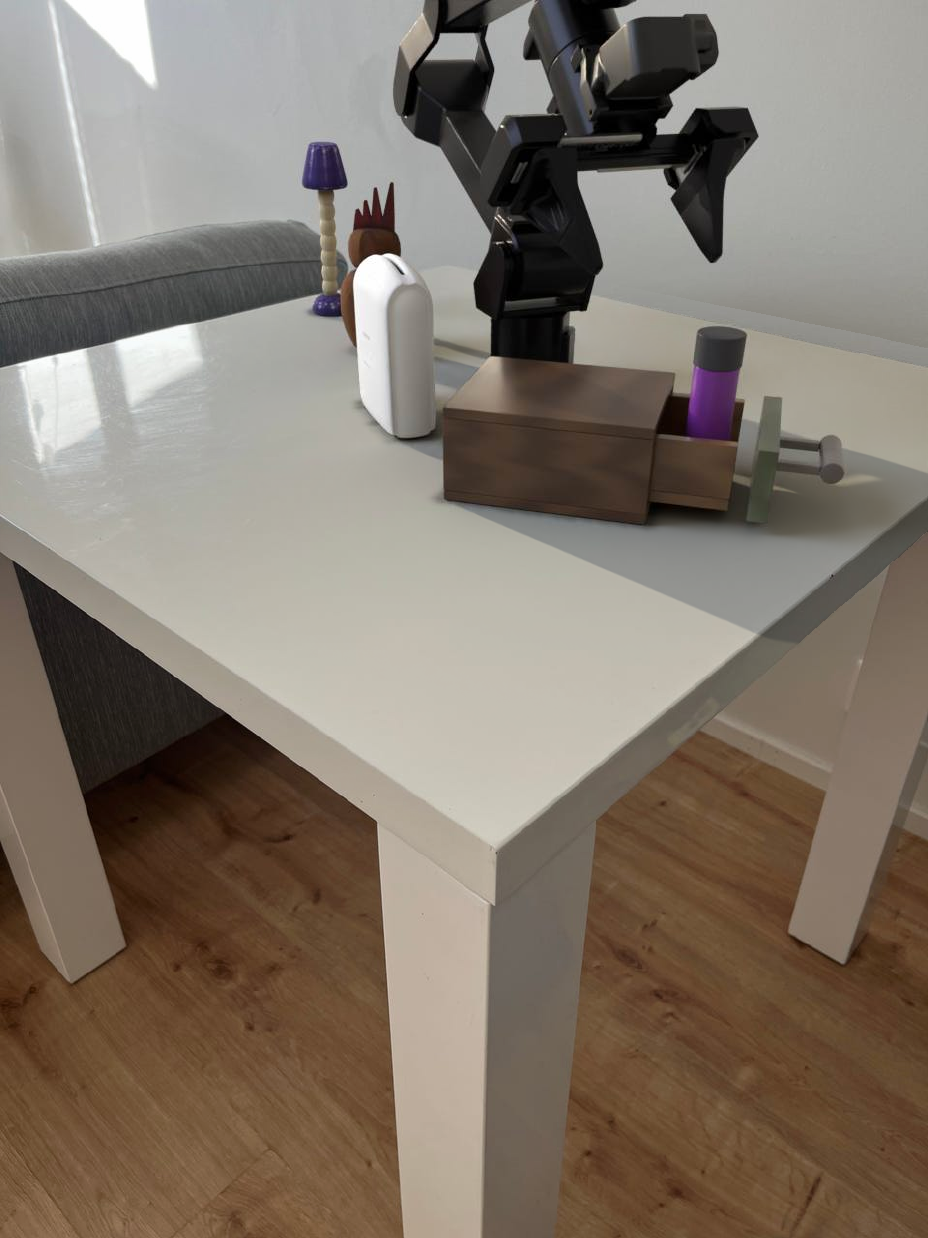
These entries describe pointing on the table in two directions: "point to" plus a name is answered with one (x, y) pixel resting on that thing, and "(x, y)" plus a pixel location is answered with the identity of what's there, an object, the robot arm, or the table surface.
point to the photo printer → (395, 345)
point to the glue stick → (715, 381)
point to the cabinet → (555, 438)
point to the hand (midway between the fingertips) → (658, 265)
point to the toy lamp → (326, 216)
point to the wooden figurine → (368, 248)
